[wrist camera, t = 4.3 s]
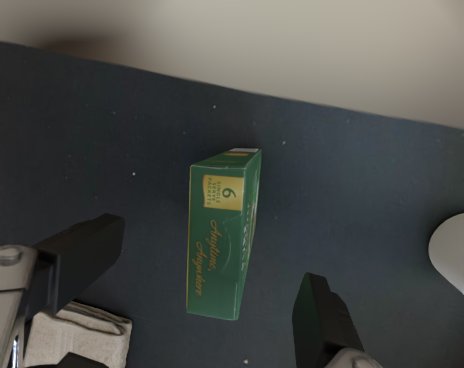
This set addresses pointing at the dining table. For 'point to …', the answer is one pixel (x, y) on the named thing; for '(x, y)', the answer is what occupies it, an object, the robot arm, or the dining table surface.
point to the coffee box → (221, 230)
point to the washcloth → (79, 336)
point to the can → (449, 250)
